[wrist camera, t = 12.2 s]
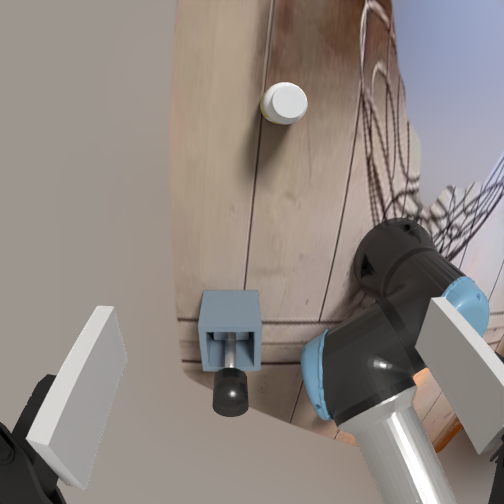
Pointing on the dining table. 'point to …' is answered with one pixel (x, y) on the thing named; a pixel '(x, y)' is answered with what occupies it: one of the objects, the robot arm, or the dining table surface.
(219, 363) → the press housing
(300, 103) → the supplement bottle
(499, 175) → the dining table surface
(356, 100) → the dining table surface
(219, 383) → the plunger
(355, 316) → the robot arm
